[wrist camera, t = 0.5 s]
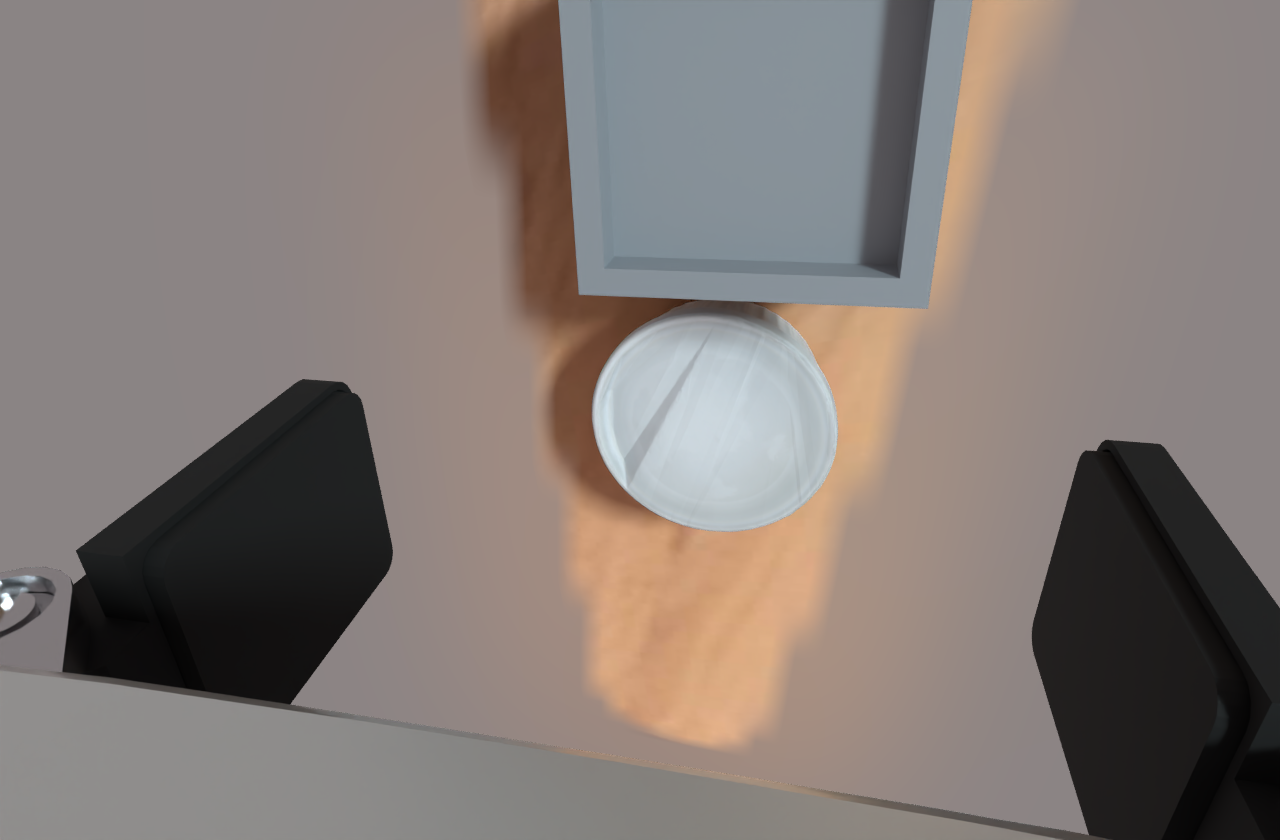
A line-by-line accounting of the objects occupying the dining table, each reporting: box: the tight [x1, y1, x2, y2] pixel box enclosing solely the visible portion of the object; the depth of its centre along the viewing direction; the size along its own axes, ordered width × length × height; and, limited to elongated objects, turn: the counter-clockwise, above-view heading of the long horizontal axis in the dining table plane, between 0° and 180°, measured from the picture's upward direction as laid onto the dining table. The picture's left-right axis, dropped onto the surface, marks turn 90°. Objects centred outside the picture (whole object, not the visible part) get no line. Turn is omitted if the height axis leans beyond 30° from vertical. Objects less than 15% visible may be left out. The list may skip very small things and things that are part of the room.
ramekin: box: [592, 300, 838, 532], centre depth 39 cm, size 11×11×5 cm
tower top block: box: [558, 0, 972, 309], centre depth 27 cm, size 12×12×6 cm
